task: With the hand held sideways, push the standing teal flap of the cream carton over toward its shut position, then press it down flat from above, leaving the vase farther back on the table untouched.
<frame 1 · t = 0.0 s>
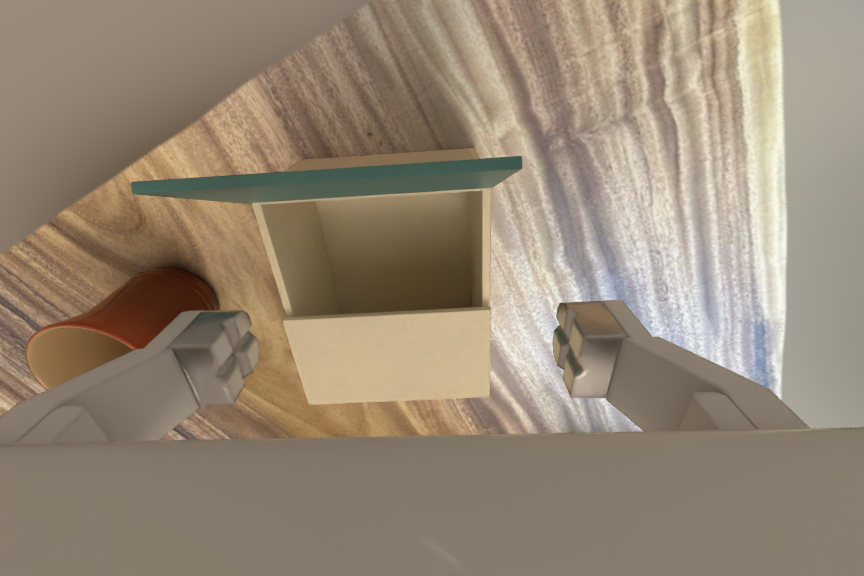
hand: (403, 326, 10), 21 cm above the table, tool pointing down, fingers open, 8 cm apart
carton: (398, 245, 32), on the table
mug: (182, 310, 36), on the table
flap: (349, 185, 16), point 14 cm above the table, hinge at 110.0°
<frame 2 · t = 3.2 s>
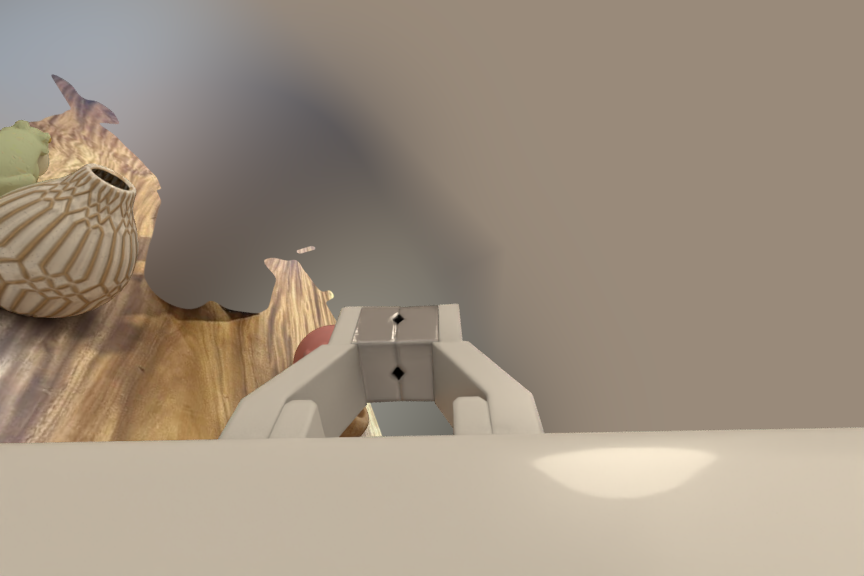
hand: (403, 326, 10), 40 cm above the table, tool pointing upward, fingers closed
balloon: (302, 391, 77), on the table
vase: (26, 296, 50), on the table
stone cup: (277, 459, 58), on the table
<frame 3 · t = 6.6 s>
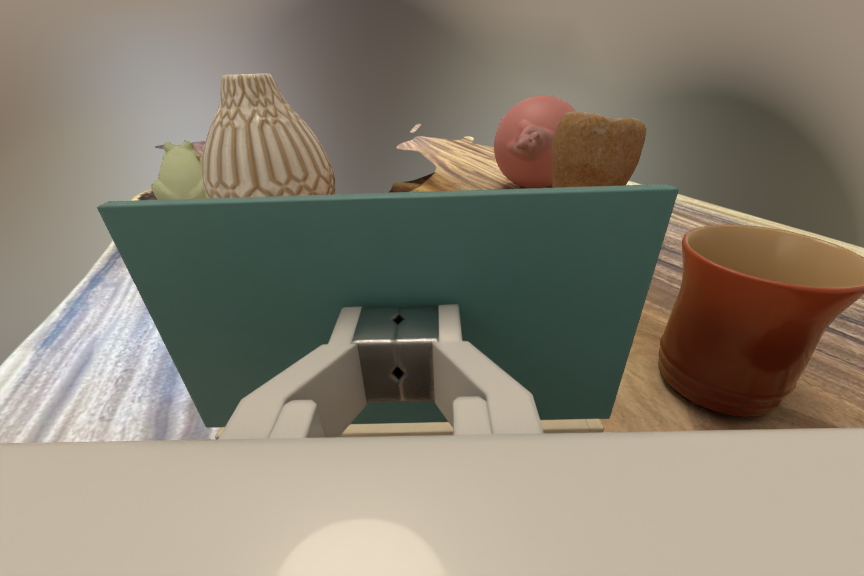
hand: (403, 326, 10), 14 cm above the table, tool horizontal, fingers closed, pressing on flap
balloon: (529, 191, 70), on the table
figurine: (194, 201, 71), on the table
vase: (285, 237, 54), on the table
carton: (423, 436, 24), on the table
mug: (707, 371, 28), on the table
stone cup: (568, 231, 53), on the table
flap: (397, 326, 10), point 14 cm above the table, hinge at 90.7°, touching gripper
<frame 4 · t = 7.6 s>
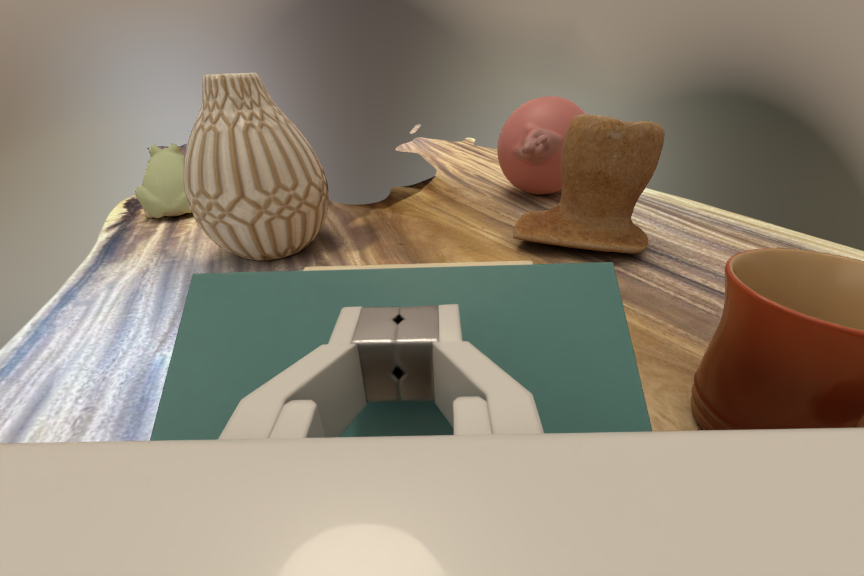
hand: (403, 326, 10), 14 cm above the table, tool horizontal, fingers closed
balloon: (534, 197, 66), on the table
figurine: (182, 207, 68), on the table
vase: (275, 248, 51), on the table
carton: (422, 497, 20), on the table
mug: (746, 413, 25), on the table
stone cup: (578, 242, 49), on the table
flap: (399, 391, 10), point 12 cm above the table, hinge at 36.4°, touching gripper
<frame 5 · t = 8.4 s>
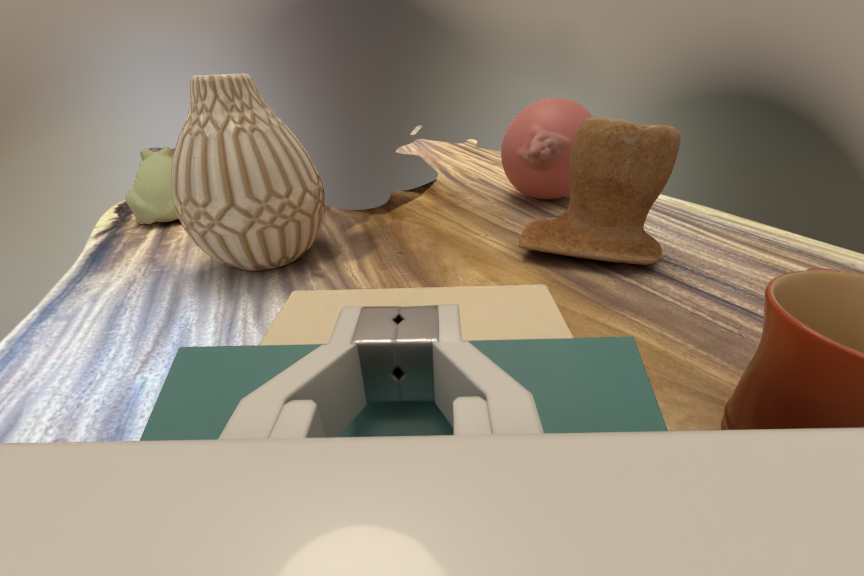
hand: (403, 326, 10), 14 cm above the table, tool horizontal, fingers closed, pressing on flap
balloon: (539, 202, 64), on the table
figurine: (175, 212, 65), on the table
vase: (269, 257, 48), on the table
carton: (423, 553, 18), on the table
mug: (780, 449, 22), on the table
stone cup: (587, 251, 47), on the table
flap: (399, 487, 9), point 12 cm above the table, hinge at 23.7°, touching gripper
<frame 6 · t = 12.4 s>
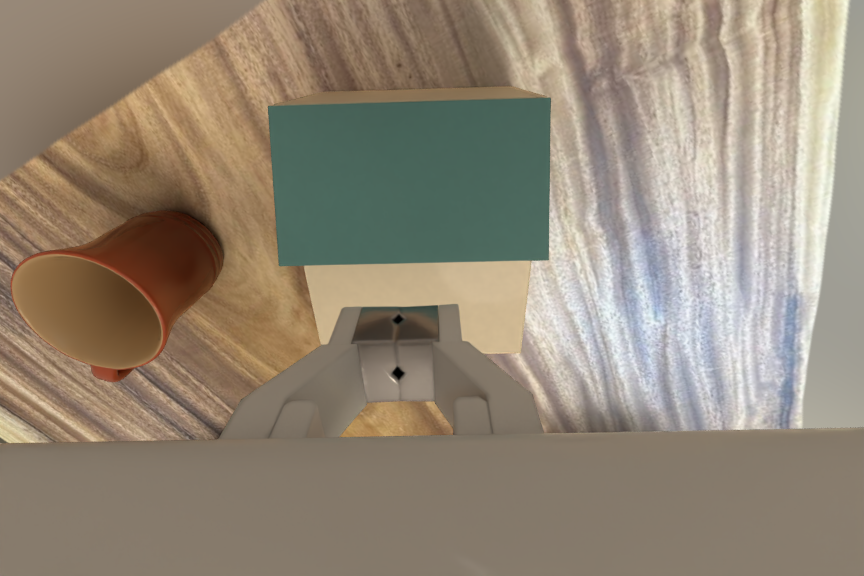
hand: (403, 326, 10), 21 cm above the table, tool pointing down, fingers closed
carton: (421, 196, 30), on the table
mug: (184, 261, 33), on the table
flap: (410, 184, 18), point 12 cm above the table, hinge at 23.7°
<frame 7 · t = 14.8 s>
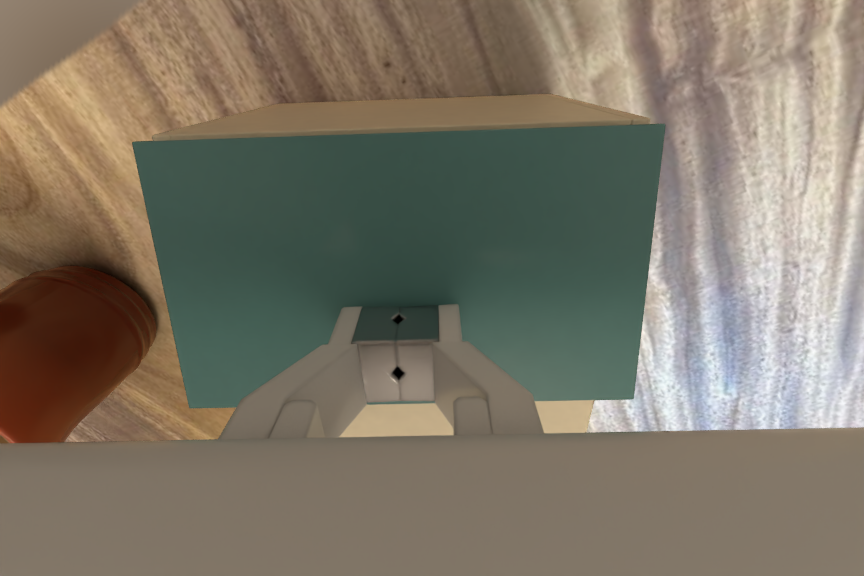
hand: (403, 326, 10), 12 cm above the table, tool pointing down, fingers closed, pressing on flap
carton: (421, 244, 22), on the table
mug: (106, 327, 25), on the table
flap: (403, 279, 10), point 11 cm above the table, hinge at 15.6°, touching gripper
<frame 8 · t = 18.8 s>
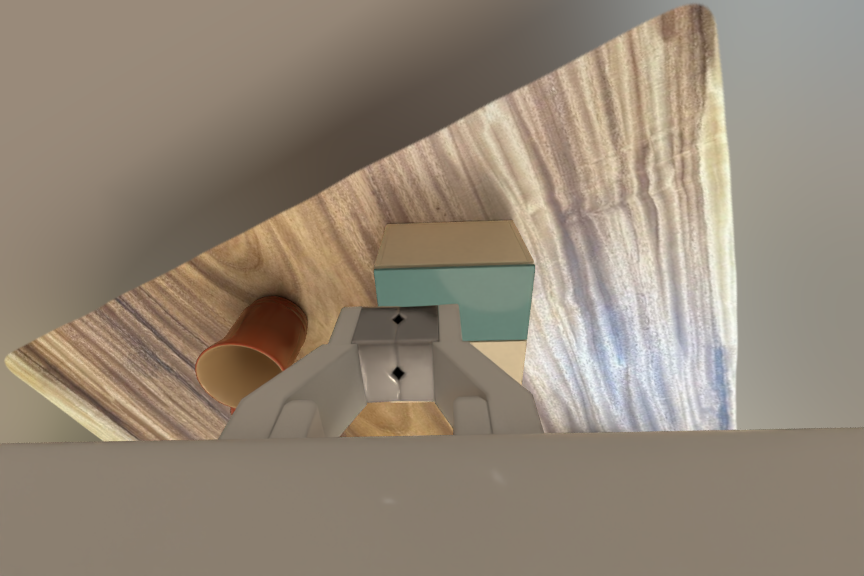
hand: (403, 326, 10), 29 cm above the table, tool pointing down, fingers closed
carton: (450, 285, 43), on the table
mug: (277, 327, 46), on the table
flap: (454, 305, 32), point 10 cm above the table, hinge at 0.0°
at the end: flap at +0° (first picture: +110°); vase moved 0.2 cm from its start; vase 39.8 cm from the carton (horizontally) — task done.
